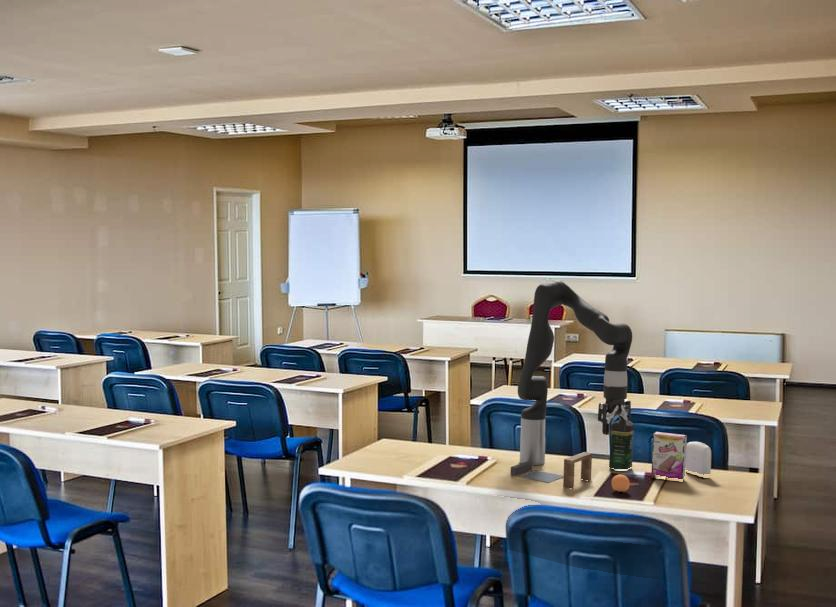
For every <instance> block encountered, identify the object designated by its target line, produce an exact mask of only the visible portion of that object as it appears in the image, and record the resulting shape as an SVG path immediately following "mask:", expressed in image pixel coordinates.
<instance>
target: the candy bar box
mask: <svg viewBox="0 0 836 607" xmlns="http://www.w3.org/2000/svg"><path fill="white" fill-rule="evenodd" d="M687 438H688V436H687V434H686V435H685V434H680V433H679V434H678V433H669V432H662V431H661V432H660V431H655V432H653V434H652V456H651V473H652V474H656V475H660V476H666V477H668V478H678V479H683V478H684V476H686V473H685V459H686V445H687V440H688V439H687Z"/></svg>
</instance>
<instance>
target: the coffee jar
mask: <svg viewBox="0 0 836 607" xmlns="http://www.w3.org/2000/svg"><path fill="white" fill-rule="evenodd" d="M619 420H620V419H618V420H616V421H614V422H612V423H611V424H610V443H609V444H610V446H609V447H610V448H609V463H608V468H609V467H610V468H614V469H628V468H630V467H632V468H633V451H634V450H633V449H634V448H633V446H634V445H633V443H634V434H635V432H634V431H635V430H634V429H635V424H634V423H633V422H632V421H631V420H630V419H627V421H626V431H625V432H620V431H619Z"/></svg>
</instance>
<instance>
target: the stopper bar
mask: <svg viewBox="0 0 836 607" xmlns="http://www.w3.org/2000/svg"><path fill="white" fill-rule="evenodd" d="M532 471H533V465H532V462H529V461H527V462H524V463H518V464H515V465H512V466H510V474H509V475H510V476H513V477H517V476H521V475H524V474H527V473H529V472H532Z"/></svg>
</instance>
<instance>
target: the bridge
mask: <svg viewBox="0 0 836 607" xmlns="http://www.w3.org/2000/svg"><path fill="white" fill-rule="evenodd" d="M579 462H580V464H581V465H580V480H581V479H583V480H588V481H587V482H590V481H589V480H591V481H592V463H593V453H592V452H587V451H583V452H581V453H577V454H575V455H572V456H570V457H567V458H564V459H563V478H562V479H563V481H562V488H564V487H565V488H566V489H569V488H572V489H574V488H575V486H574V485H575V464H577V463H579ZM583 480H582V481H583ZM573 487H574V488H573Z"/></svg>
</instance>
